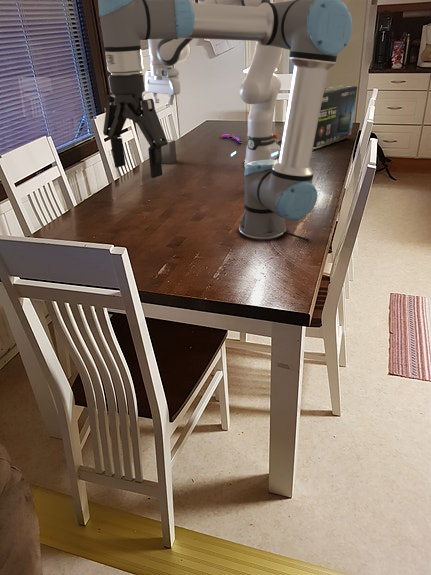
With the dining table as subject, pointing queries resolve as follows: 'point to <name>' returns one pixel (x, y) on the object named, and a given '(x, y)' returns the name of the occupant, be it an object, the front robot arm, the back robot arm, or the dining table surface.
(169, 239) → the dining table surface
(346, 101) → the router box
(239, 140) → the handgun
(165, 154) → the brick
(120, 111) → the front robot arm
